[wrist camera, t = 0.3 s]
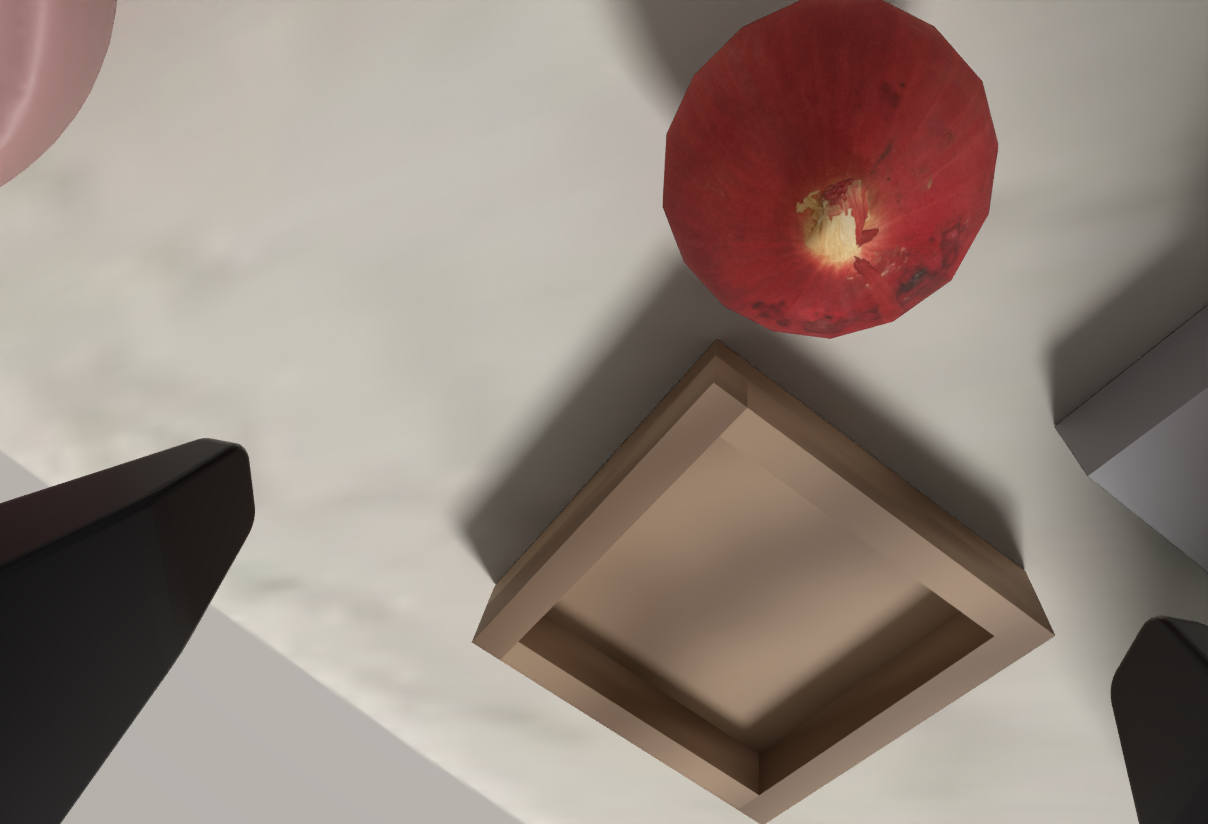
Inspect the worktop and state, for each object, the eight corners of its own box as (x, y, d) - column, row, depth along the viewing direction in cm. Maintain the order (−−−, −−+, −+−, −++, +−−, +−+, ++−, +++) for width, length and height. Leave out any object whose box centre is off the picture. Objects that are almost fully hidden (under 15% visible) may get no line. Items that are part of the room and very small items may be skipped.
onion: (1002, 145, 18) (1168, 260, 11) (789, 311, 20) (811, 493, 13) (831, -75, 16) (896, -107, 9) (626, 134, 19) (555, 232, 12)
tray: (1025, 571, 23) (1055, 635, 20) (761, 758, 28) (762, 825, 26) (717, 338, 21) (713, 382, 19) (494, 585, 26) (472, 642, 24)
